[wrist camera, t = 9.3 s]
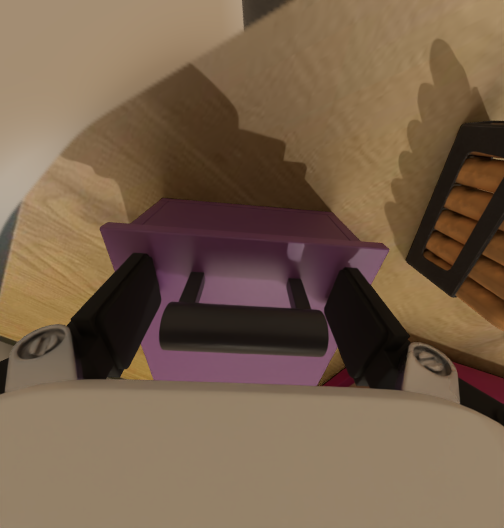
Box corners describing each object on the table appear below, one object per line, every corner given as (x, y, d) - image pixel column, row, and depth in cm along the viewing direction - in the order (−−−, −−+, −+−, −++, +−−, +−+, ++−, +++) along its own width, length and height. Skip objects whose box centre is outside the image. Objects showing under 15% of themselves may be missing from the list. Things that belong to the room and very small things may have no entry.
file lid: (107, 221, 9) (6, 286, 6) (382, 242, 10) (465, 312, 6) (165, 399, 20) (144, 467, 16) (301, 403, 20) (314, 469, 16)
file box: (162, 197, 15) (112, 236, 10) (332, 212, 16) (375, 256, 11) (184, 338, 25) (166, 398, 20) (290, 343, 26) (301, 402, 20)
